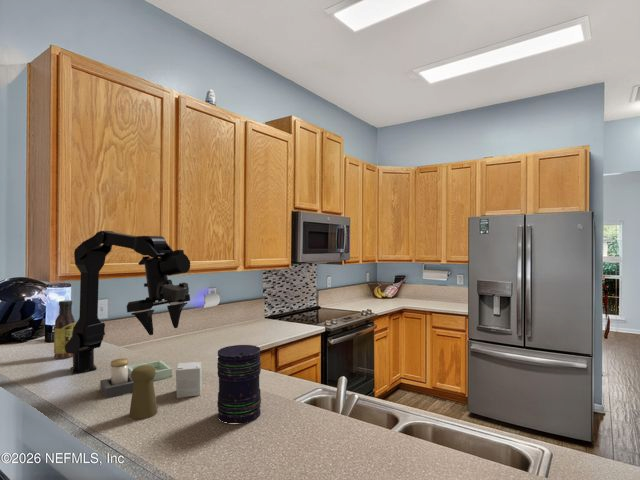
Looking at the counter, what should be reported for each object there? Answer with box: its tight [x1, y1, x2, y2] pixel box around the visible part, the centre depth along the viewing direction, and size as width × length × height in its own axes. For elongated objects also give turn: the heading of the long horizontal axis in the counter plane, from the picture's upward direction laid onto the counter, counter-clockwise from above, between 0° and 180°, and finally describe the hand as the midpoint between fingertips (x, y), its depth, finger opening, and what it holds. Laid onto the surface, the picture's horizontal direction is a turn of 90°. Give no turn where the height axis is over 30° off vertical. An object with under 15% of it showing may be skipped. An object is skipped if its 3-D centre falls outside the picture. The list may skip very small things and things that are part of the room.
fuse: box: [110, 358, 129, 386], centre depth 105 cm, size 4×4×8 cm
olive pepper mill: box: [128, 365, 158, 421], centre depth 90 cm, size 6×6×11 cm
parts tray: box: [128, 359, 173, 382], centre depth 116 cm, size 11×10×2 cm
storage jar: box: [216, 344, 262, 424], centre depth 89 cm, size 10×10×15 cm
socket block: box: [99, 374, 134, 399], centre depth 105 cm, size 8×8×2 cm
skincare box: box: [175, 361, 203, 399], centre depth 103 cm, size 6×6×7 cm
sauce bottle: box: [53, 299, 76, 360], centre depth 138 cm, size 7×6×20 cm
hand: (164, 331), depth 112 cm, fingers open, 9 cm apart
